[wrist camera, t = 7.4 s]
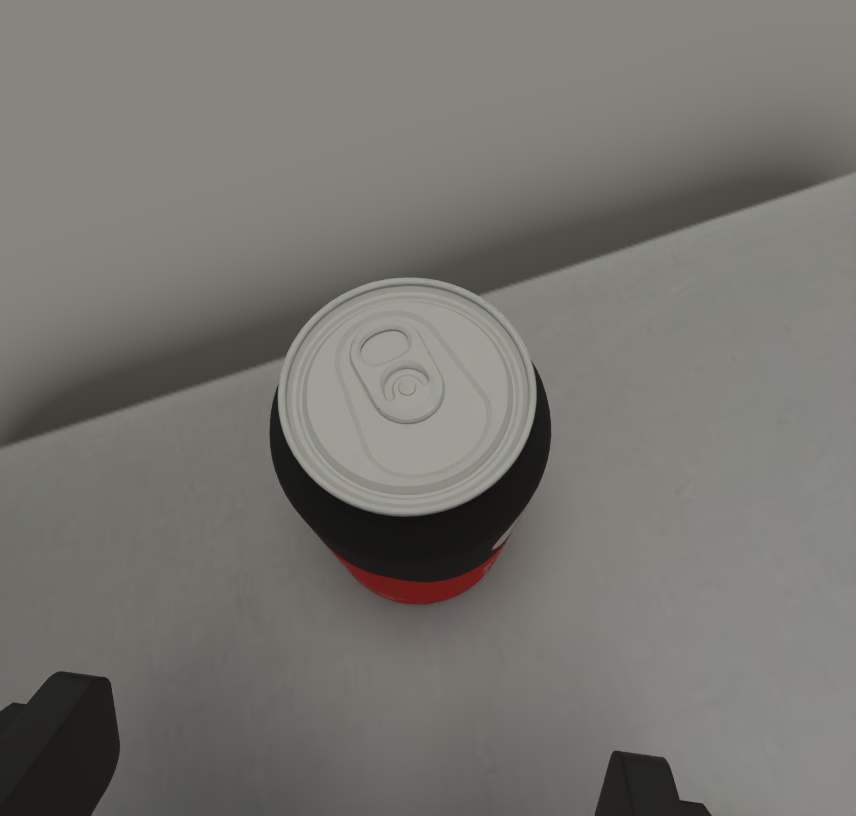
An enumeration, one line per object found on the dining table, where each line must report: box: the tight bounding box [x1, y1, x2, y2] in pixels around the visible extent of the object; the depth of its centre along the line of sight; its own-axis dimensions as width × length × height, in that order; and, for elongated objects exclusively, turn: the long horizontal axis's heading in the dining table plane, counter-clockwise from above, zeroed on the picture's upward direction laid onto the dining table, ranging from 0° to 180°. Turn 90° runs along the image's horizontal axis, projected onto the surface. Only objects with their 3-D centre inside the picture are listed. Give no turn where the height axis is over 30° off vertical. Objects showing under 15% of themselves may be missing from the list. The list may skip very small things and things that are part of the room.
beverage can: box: [270, 278, 551, 604], centre depth 18 cm, size 6×6×12 cm
